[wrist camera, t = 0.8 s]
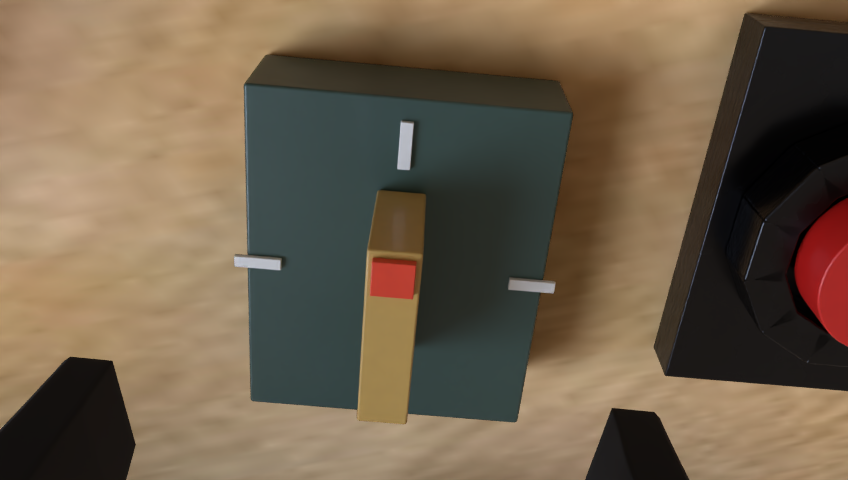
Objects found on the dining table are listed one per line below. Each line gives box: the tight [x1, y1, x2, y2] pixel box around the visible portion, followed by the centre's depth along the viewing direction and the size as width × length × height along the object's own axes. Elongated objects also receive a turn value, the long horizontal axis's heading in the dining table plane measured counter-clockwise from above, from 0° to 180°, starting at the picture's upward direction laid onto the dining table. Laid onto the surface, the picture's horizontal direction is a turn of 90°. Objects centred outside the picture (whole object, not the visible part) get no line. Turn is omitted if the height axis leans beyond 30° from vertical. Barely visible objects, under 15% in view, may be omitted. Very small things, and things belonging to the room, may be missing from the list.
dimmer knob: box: [357, 190, 426, 424], centre depth 22 cm, size 6×1×4 cm, turn 175°
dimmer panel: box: [234, 55, 573, 422], centre depth 25 cm, size 11×10×3 cm
